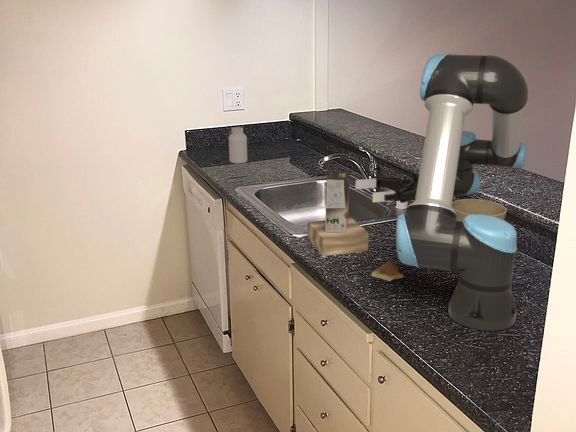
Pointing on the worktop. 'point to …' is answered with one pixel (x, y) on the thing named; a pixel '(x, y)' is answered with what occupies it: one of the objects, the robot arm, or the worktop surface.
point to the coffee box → (337, 201)
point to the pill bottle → (237, 146)
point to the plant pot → (478, 208)
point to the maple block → (338, 238)
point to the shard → (388, 272)
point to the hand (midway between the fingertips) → (363, 190)
